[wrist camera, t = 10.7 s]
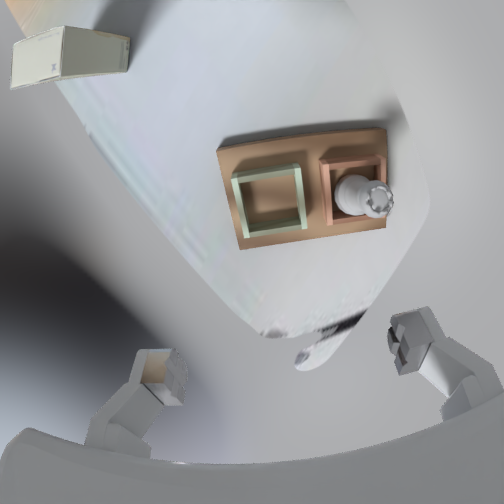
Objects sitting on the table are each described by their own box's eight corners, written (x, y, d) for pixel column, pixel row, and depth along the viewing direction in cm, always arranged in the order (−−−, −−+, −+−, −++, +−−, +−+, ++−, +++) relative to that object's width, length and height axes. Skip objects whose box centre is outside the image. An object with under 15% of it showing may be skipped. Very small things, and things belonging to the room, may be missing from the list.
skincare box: (131, 37, 21) (68, 21, 11) (127, 74, 24) (62, 77, 13) (83, 44, 21) (12, 41, 11) (80, 79, 23) (8, 91, 13)
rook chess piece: (327, 181, 29) (348, 182, 21) (364, 168, 28) (395, 166, 21) (340, 220, 30) (364, 234, 22) (376, 207, 29) (409, 217, 22)
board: (217, 148, 29) (213, 156, 26) (380, 127, 27) (394, 133, 24) (240, 243, 35) (239, 259, 32) (381, 222, 33) (392, 235, 30)
